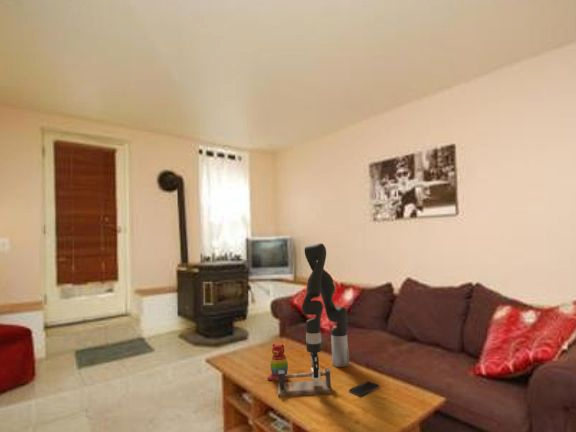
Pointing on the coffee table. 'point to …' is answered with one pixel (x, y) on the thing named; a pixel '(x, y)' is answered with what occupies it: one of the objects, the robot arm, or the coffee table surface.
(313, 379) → the sleeve
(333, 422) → the coffee table surface
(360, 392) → the phone
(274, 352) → the stacking bear
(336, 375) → the coffee table surface
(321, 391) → the grey slider rail toy
